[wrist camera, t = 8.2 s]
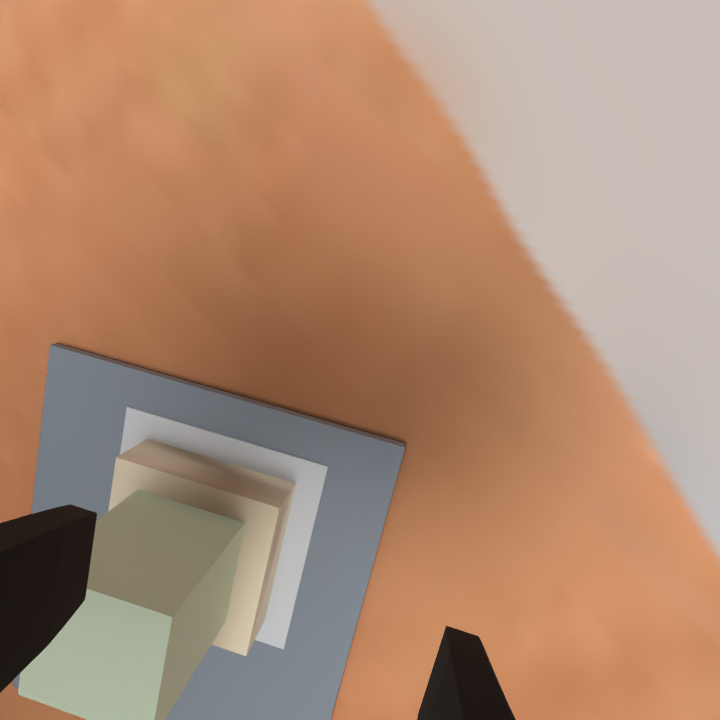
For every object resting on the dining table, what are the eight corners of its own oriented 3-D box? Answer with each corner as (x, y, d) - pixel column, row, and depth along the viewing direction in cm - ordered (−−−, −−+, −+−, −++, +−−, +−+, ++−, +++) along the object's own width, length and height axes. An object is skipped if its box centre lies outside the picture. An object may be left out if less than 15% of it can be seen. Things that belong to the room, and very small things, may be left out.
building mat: (19, 679, 25) (10, 687, 25) (57, 343, 22) (48, 345, 21) (312, 786, 24) (309, 797, 23) (406, 443, 20) (404, 448, 19)
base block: (125, 573, 22) (94, 604, 21) (147, 438, 21) (116, 457, 19) (264, 620, 22) (246, 656, 20) (296, 483, 20) (279, 508, 18)
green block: (123, 587, 20) (17, 694, 15) (137, 489, 19) (30, 569, 14) (225, 621, 20) (150, 742, 15) (245, 522, 19) (172, 617, 14)
